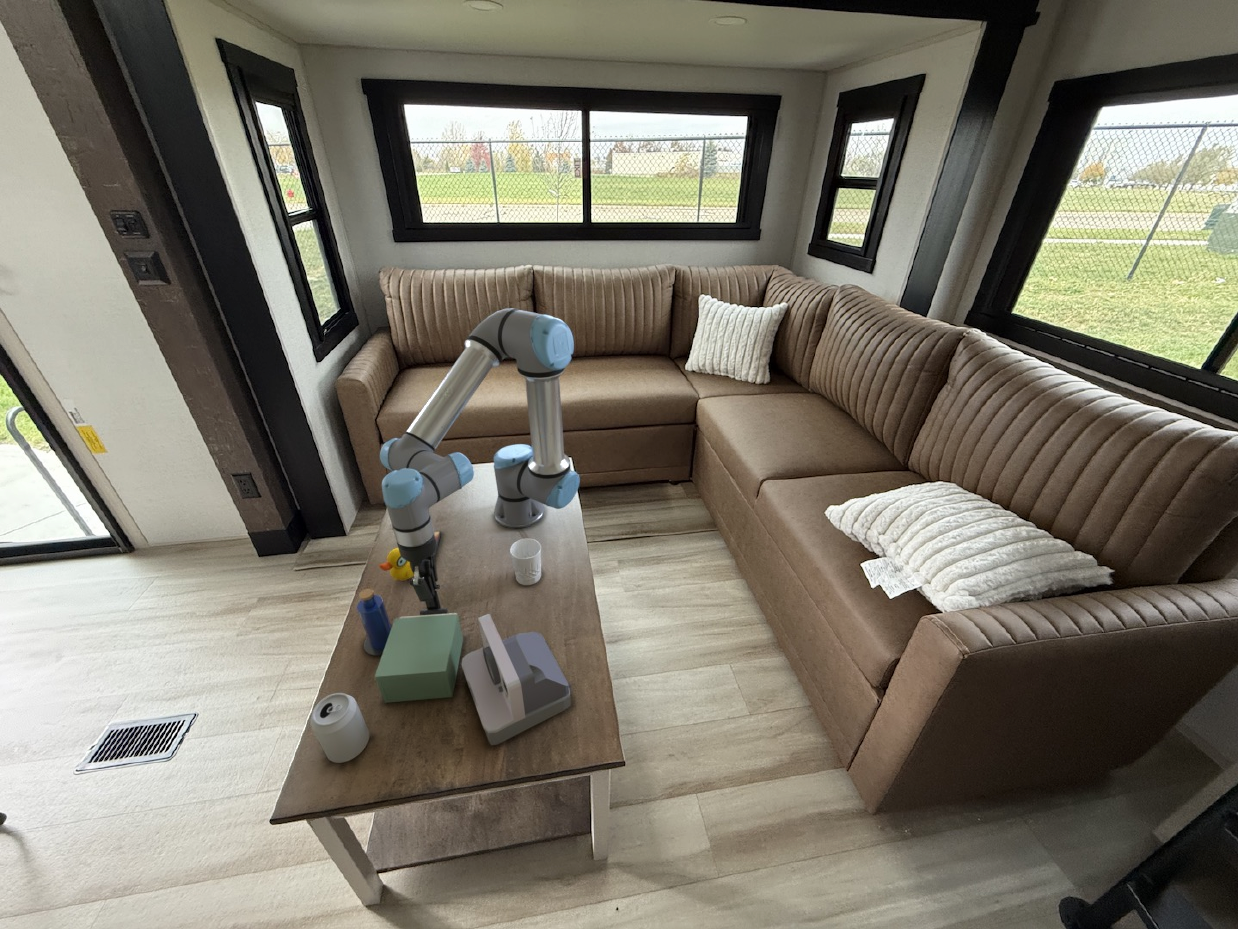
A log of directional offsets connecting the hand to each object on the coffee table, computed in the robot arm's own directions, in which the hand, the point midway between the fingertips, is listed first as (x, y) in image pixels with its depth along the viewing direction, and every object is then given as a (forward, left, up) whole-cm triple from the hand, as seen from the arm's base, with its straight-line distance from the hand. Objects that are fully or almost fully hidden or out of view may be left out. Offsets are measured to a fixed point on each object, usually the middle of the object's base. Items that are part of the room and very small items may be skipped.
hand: (434, 611), depth 118 cm
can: (+29, -11, -4) cm, 31 cm away
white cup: (-13, +21, -4) cm, 25 cm away
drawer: (+9, 0, -3) cm, 10 cm away
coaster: (+5, -11, -4) cm, 13 cm away
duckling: (-16, -11, -4) cm, 20 cm away
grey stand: (+20, +20, -4) cm, 29 cm away
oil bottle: (+5, -11, -3) cm, 13 cm away
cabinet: (+13, 0, -4) cm, 14 cm away
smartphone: (-26, -9, -4) cm, 28 cm away
